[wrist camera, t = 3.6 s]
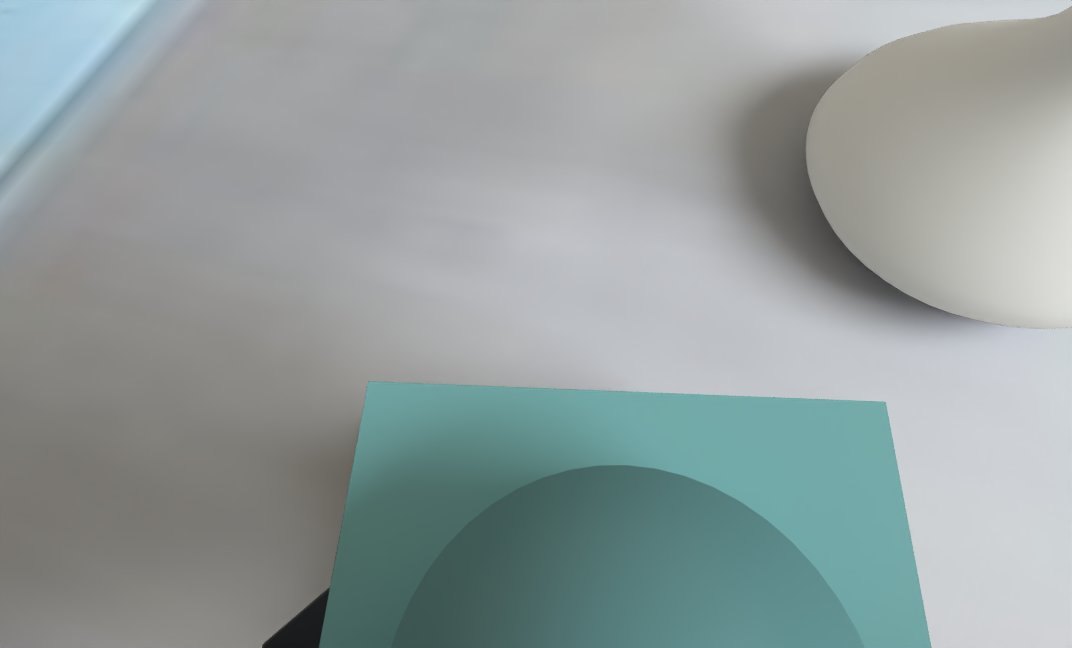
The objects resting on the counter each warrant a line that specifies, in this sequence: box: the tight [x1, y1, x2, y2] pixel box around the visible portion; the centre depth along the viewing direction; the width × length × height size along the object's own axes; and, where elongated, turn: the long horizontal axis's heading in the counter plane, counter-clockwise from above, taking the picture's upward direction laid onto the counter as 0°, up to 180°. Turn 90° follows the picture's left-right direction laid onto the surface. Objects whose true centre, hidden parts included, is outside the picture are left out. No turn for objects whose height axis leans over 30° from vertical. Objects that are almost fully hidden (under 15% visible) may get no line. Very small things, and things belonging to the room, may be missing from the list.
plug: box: [319, 381, 931, 648], centre depth 9 cm, size 4×4×13 cm
